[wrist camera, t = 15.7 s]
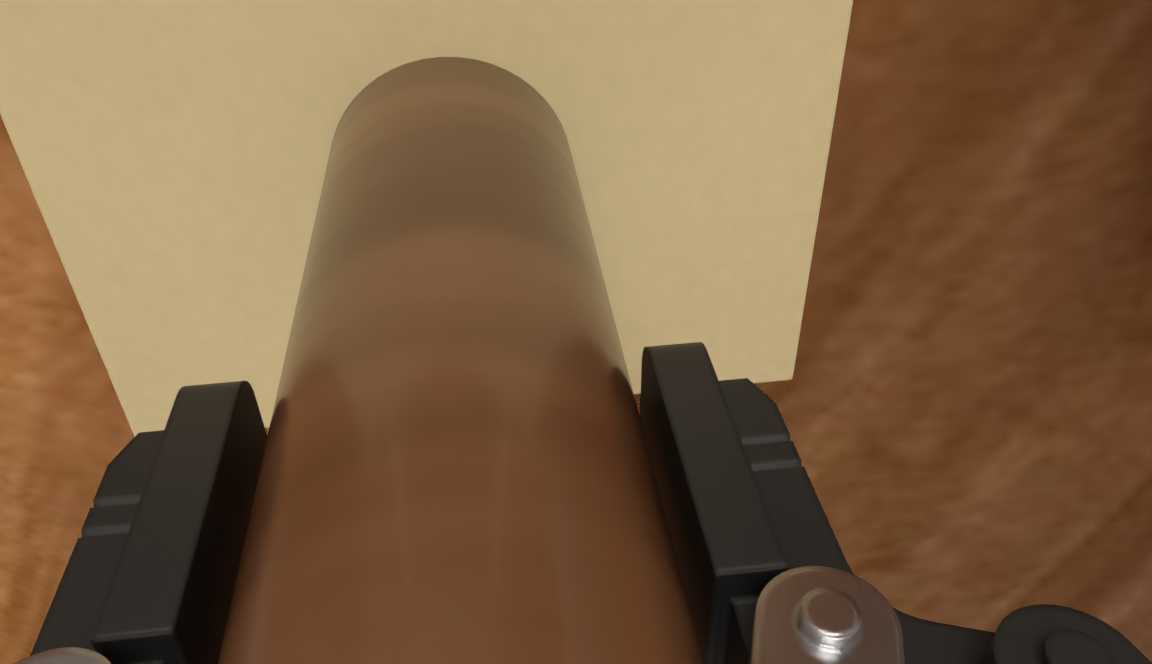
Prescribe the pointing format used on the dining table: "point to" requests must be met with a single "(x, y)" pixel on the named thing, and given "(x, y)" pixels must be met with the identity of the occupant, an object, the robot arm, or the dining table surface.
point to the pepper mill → (455, 409)
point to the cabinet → (308, 123)
